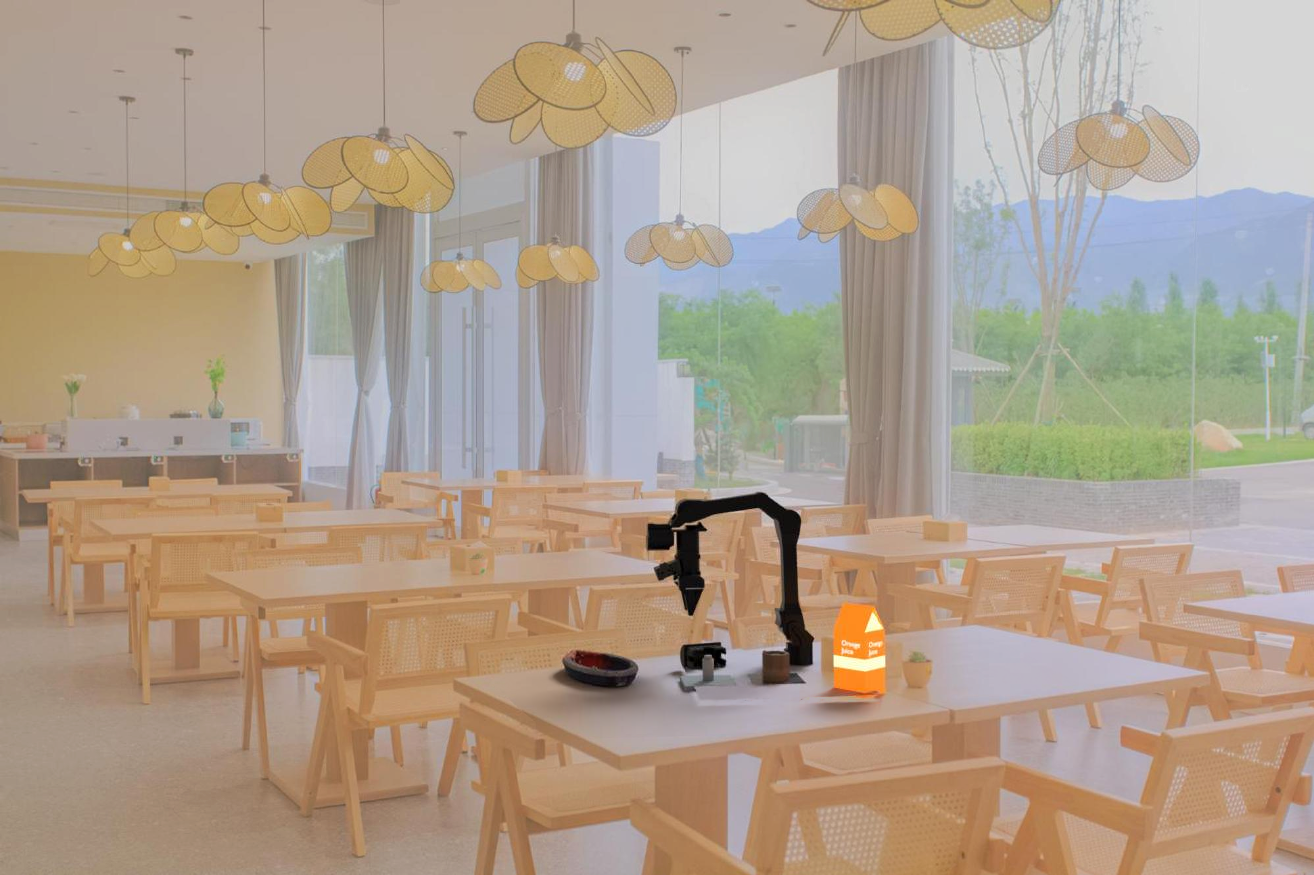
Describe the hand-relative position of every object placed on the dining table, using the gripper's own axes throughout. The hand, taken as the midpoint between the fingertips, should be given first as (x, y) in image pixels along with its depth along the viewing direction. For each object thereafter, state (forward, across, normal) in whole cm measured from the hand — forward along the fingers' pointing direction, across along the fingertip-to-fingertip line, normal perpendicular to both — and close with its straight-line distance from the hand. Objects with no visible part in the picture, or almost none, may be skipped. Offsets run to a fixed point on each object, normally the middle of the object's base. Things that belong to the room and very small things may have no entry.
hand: (688, 612), depth 308 cm
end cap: (+15, 0, +4) cm, 15 cm away
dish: (+15, +5, -22) cm, 27 cm away
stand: (+14, +17, +19) cm, 29 cm away
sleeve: (+13, +17, +19) cm, 29 cm away
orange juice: (+15, +29, +36) cm, 49 cm away
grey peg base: (+14, +18, +3) cm, 23 cm away
